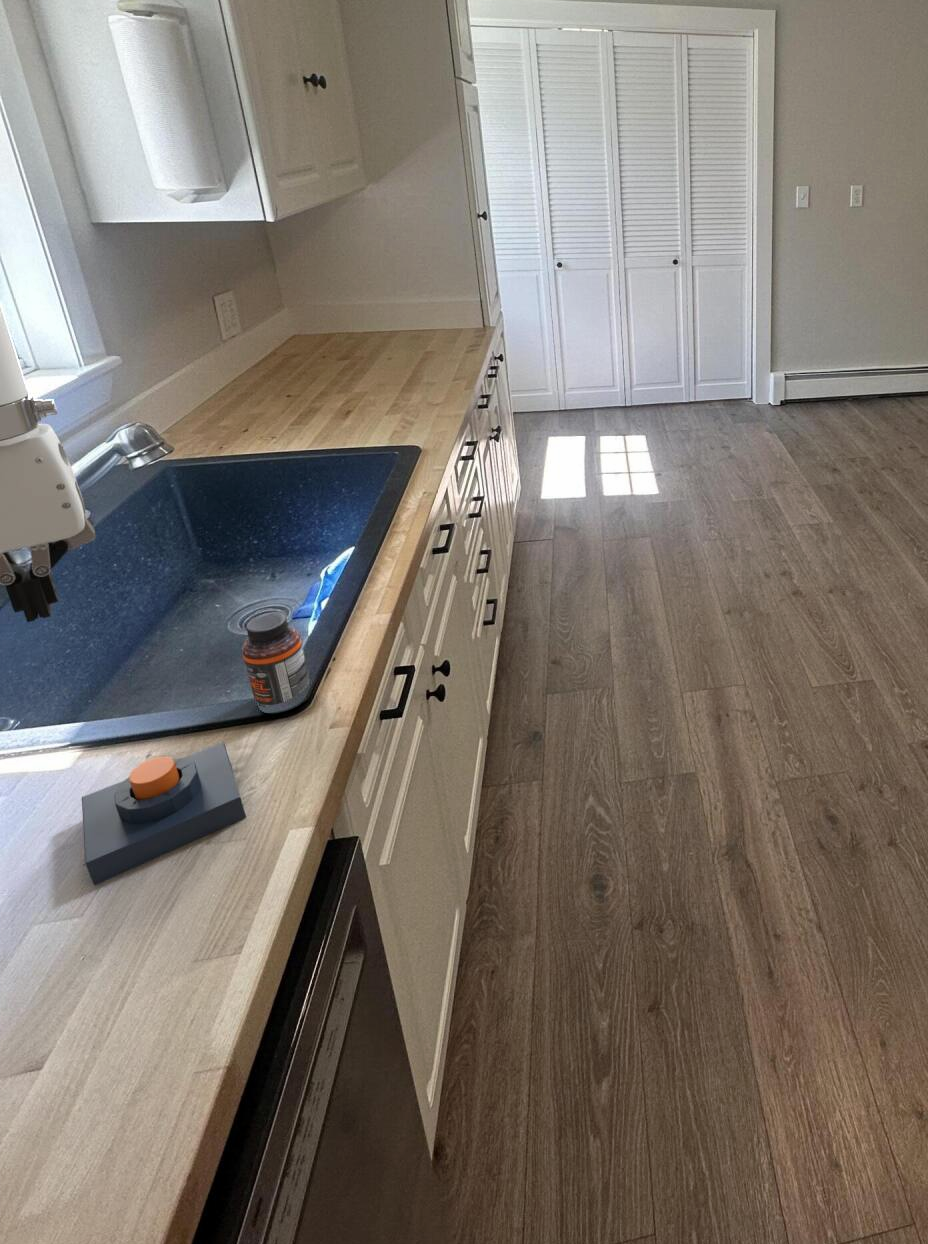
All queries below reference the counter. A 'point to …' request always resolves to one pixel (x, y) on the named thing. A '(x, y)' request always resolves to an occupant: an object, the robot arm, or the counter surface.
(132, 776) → the push button
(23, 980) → the counter surface
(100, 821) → the button box
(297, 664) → the supplement bottle
